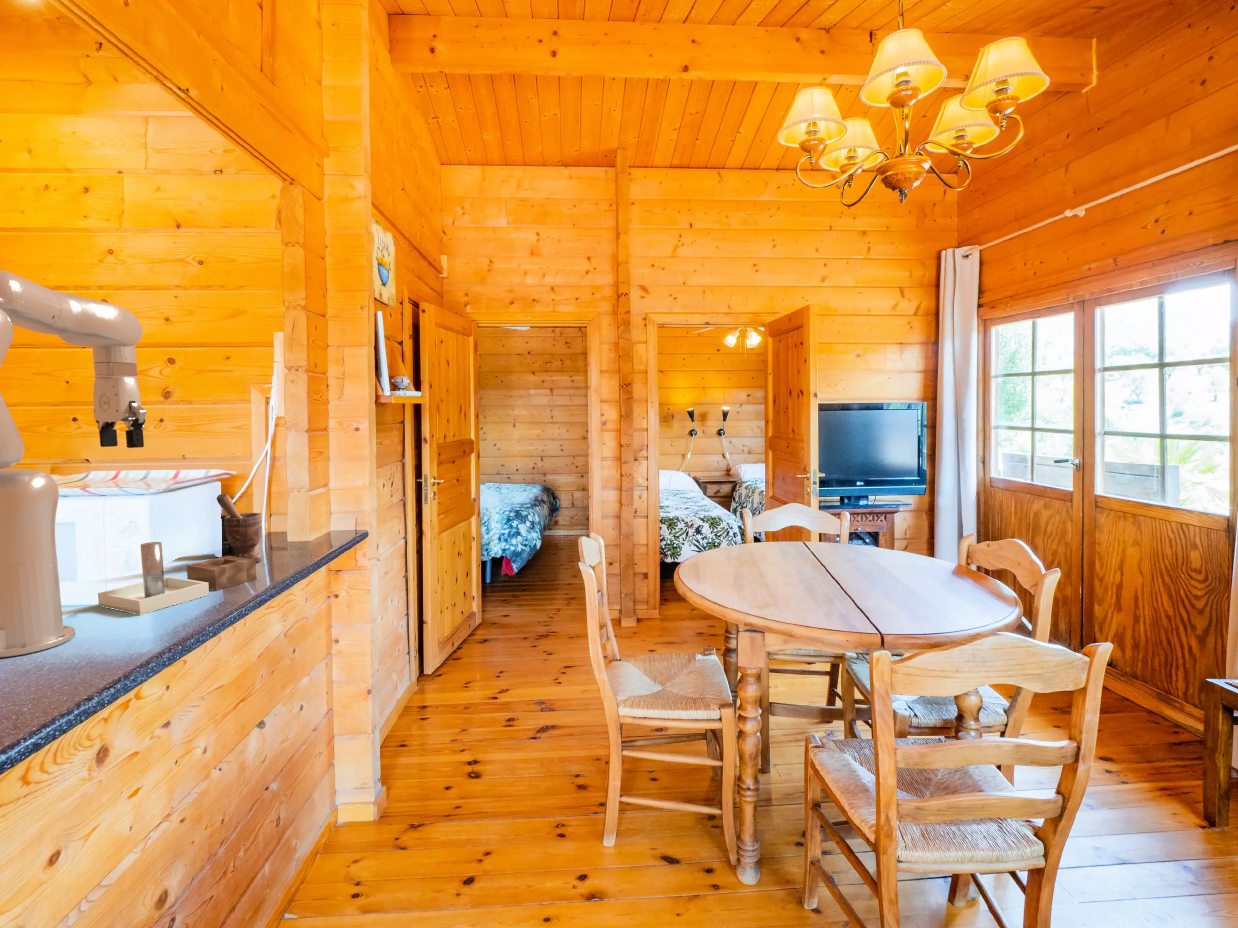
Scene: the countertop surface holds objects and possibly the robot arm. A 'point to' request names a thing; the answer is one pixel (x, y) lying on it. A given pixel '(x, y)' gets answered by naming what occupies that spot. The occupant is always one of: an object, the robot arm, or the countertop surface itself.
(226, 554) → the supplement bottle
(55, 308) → the robot arm
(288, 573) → the countertop surface
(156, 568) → the pin
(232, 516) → the mortar and pestle
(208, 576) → the pin block
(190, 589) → the tray
